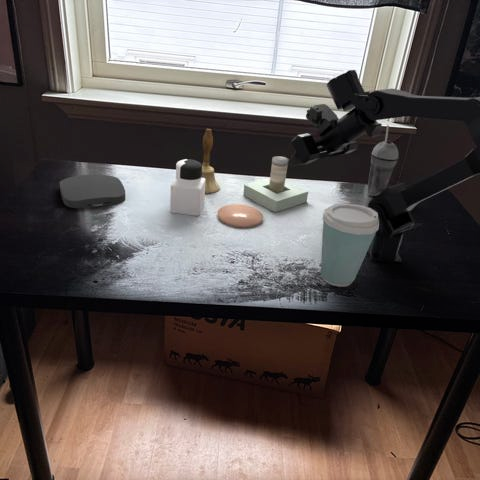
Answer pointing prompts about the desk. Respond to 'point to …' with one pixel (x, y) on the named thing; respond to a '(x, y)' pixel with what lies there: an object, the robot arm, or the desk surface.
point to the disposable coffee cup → (346, 241)
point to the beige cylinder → (278, 174)
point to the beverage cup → (382, 165)
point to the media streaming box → (92, 191)
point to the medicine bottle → (188, 188)
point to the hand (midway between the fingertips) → (302, 160)
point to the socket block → (275, 195)
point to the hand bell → (208, 171)
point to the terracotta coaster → (240, 215)
